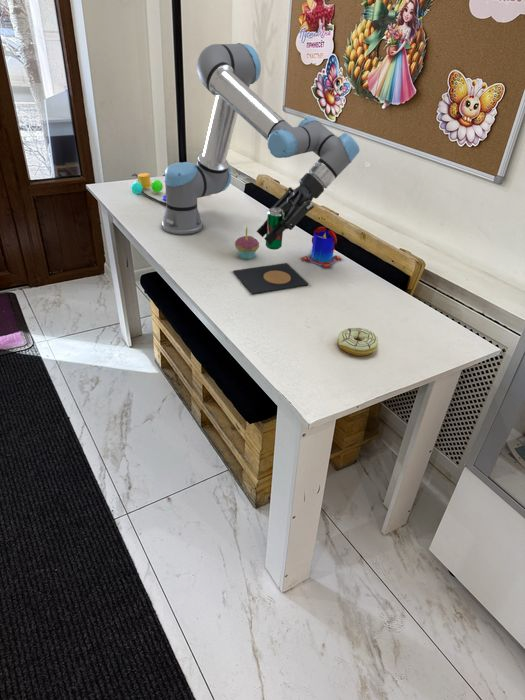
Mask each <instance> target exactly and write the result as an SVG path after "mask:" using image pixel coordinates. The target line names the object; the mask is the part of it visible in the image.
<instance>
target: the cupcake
mask: <svg viewBox="0 0 525 700" xmlns="http://www.w3.org/2000/svg"><path fill="white" fill-rule="evenodd" d="M234 247H235V248H236V250H237V251H238V253H239V257H240V258H241V259H242V260H243V259H244V260H251V259H253V258H254V256H255V254H256V252H257V251H258V250H259V248H260V242H259V240H258V239H257V238H254V237H253V236H251V235H248V226H246V225H245V235H242V236H240V237H238V238H237V239H236V240H235V241H234Z"/></svg>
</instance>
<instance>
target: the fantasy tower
mask: <svg viewBox="0 0 525 700" xmlns="http://www.w3.org/2000/svg"><path fill="white" fill-rule="evenodd" d="M337 241H338V238H337V235H336V233H335V232H334V231H333V230H332V229H327V227H325V226H320V227H317V228H316V229H315V230H314V231H313V236H311V243H312V246H311V254H310V255H309V256H307V255H306V256H303V257H301V261H302V262H306V263H311V264H315V265H318V266H320V267H321V268H323V269H331V268H332V266H331V265H333V264H334V263H336V262H339V261H342V259H341V257H340V256H339V255H334V253H335V251H334V250H335V249H336V247H335V245H337Z"/></svg>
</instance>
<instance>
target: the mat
mask: <svg viewBox="0 0 525 700" xmlns="http://www.w3.org/2000/svg"><path fill="white" fill-rule="evenodd" d="M232 272H233V274H234V275H235V277H236V278H237V279H238V280H239V281H240V282H241V284H242V285H243V286H244V287H245V289H246V290H247V291H248V292H249V293H250V294H251V295H253V296H254V295H258V294H260V295H261V294H265V293H271V292H277V291H283V290H290V289H295V288H302V287H309V283H308V282H307V281H306V280H305V279H304V278H303V277H302V276H301V275H300V274H299V273H298V272H297V271H296V270H295V269H294V268H292V266H290V265H289V264H288V263H287V262H285V263H277V264H270V265H263V266H256V267H250V268H242V269H234V270H232Z"/></svg>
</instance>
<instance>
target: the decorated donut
mask: <svg viewBox="0 0 525 700" xmlns="http://www.w3.org/2000/svg"><path fill="white" fill-rule="evenodd" d="M337 345H338V348H340V349H341V350H342V351H344V352H345V353H348V354H350V355H353V356H359V357H363V356H368V355H371V354H373V353H374V352H375V351H376V350H377V349H378V345H379V337H378V335H376V334H375V333H374V332H372V331H371V330H369V329H367V328H362V327H350V328H346V329H342V330H341V331H340V332H339V333H338V335H337Z"/></svg>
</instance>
